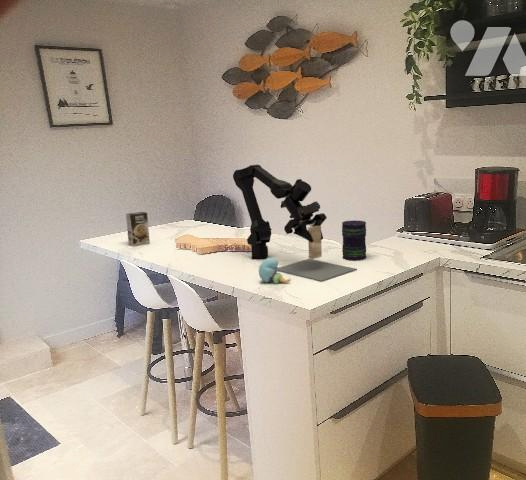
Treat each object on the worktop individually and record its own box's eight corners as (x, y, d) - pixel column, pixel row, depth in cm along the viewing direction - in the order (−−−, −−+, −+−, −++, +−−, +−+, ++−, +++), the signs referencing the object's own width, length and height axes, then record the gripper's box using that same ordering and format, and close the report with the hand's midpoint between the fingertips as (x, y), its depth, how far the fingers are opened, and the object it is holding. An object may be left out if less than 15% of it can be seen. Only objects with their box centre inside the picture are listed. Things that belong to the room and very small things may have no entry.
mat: (273, 270, 199) (273, 268, 199) (309, 259, 212) (309, 258, 212) (321, 281, 181) (321, 280, 181) (356, 270, 194) (356, 268, 194)
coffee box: (133, 246, 255) (130, 214, 252) (128, 244, 260) (125, 213, 257) (150, 243, 261) (147, 212, 257) (144, 241, 266) (141, 211, 262)
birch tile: (308, 258, 194) (308, 227, 192) (317, 255, 198) (317, 225, 195) (312, 259, 193) (311, 228, 190) (321, 256, 196) (321, 226, 194)
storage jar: (347, 254, 219) (347, 219, 215) (369, 256, 214) (369, 221, 211) (338, 259, 210) (338, 224, 207) (361, 261, 205) (361, 225, 202)
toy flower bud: (286, 264, 176) (255, 259, 181) (285, 288, 178) (255, 282, 183) (295, 259, 182) (265, 254, 187) (294, 282, 184) (264, 277, 189)
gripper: (288, 198, 187) (311, 231, 181) (322, 192, 199) (345, 223, 193) (274, 217, 195) (296, 249, 189) (308, 210, 207) (329, 241, 201)
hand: (317, 240), depth 193 cm, fingers closed on birch tile, 5 cm apart
